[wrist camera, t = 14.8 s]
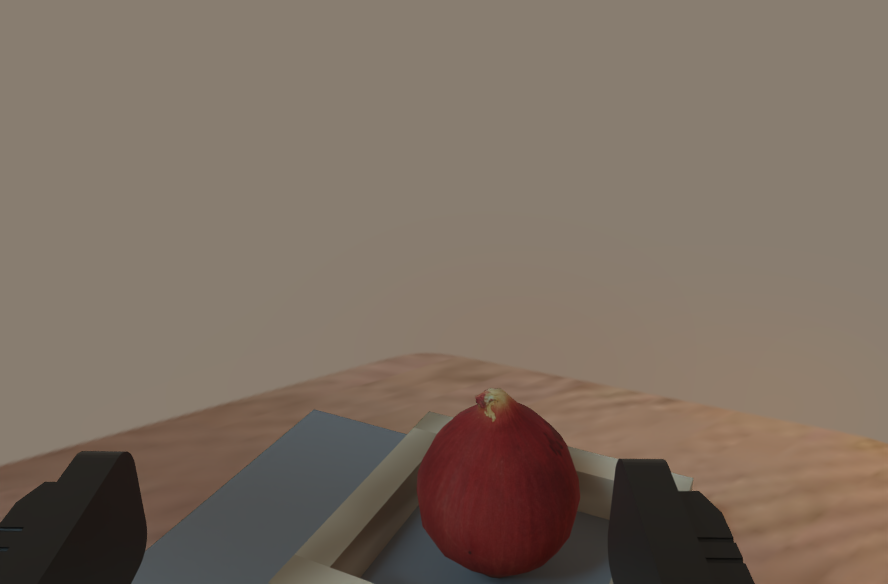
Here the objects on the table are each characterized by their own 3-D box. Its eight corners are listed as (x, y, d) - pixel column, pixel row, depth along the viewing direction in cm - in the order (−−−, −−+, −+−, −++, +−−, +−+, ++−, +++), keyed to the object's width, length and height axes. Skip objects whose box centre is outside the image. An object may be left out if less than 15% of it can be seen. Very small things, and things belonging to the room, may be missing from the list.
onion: (481, 502, 34) (480, 334, 31) (602, 559, 31) (615, 377, 27) (389, 580, 30) (379, 396, 27) (518, 657, 26) (523, 457, 23)
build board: (83, 640, 29) (75, 610, 29) (316, 434, 41) (314, 409, 41) (617, 900, 21) (621, 864, 20) (710, 546, 33) (714, 517, 33)
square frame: (273, 626, 28) (268, 582, 27) (429, 447, 38) (428, 411, 37) (609, 765, 23) (614, 717, 22) (688, 517, 33) (693, 478, 32)
